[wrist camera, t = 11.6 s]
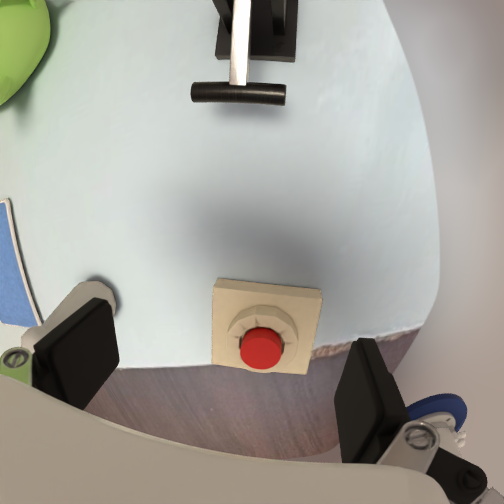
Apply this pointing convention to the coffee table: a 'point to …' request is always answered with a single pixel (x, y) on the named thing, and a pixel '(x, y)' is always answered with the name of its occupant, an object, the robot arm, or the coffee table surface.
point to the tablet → (13, 277)
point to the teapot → (21, 42)
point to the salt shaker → (68, 310)
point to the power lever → (240, 69)
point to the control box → (264, 321)
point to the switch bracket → (261, 29)
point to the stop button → (261, 348)
